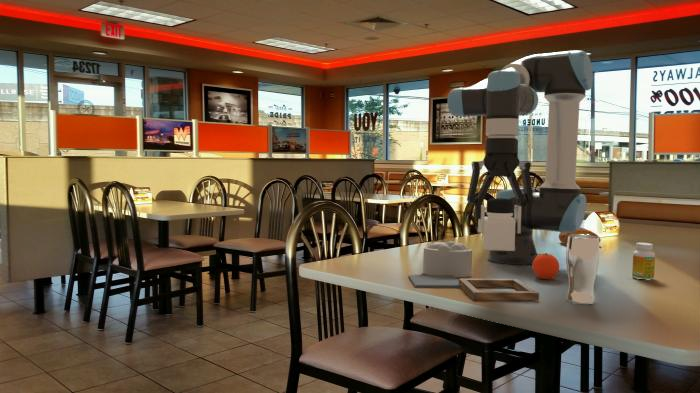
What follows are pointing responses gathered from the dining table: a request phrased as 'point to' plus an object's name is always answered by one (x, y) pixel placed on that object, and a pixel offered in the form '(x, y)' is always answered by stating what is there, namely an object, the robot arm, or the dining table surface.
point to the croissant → (581, 231)
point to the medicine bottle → (499, 225)
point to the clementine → (545, 266)
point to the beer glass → (582, 267)
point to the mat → (435, 281)
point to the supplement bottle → (643, 261)
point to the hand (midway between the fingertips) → (499, 232)
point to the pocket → (521, 294)
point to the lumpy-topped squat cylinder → (447, 259)
